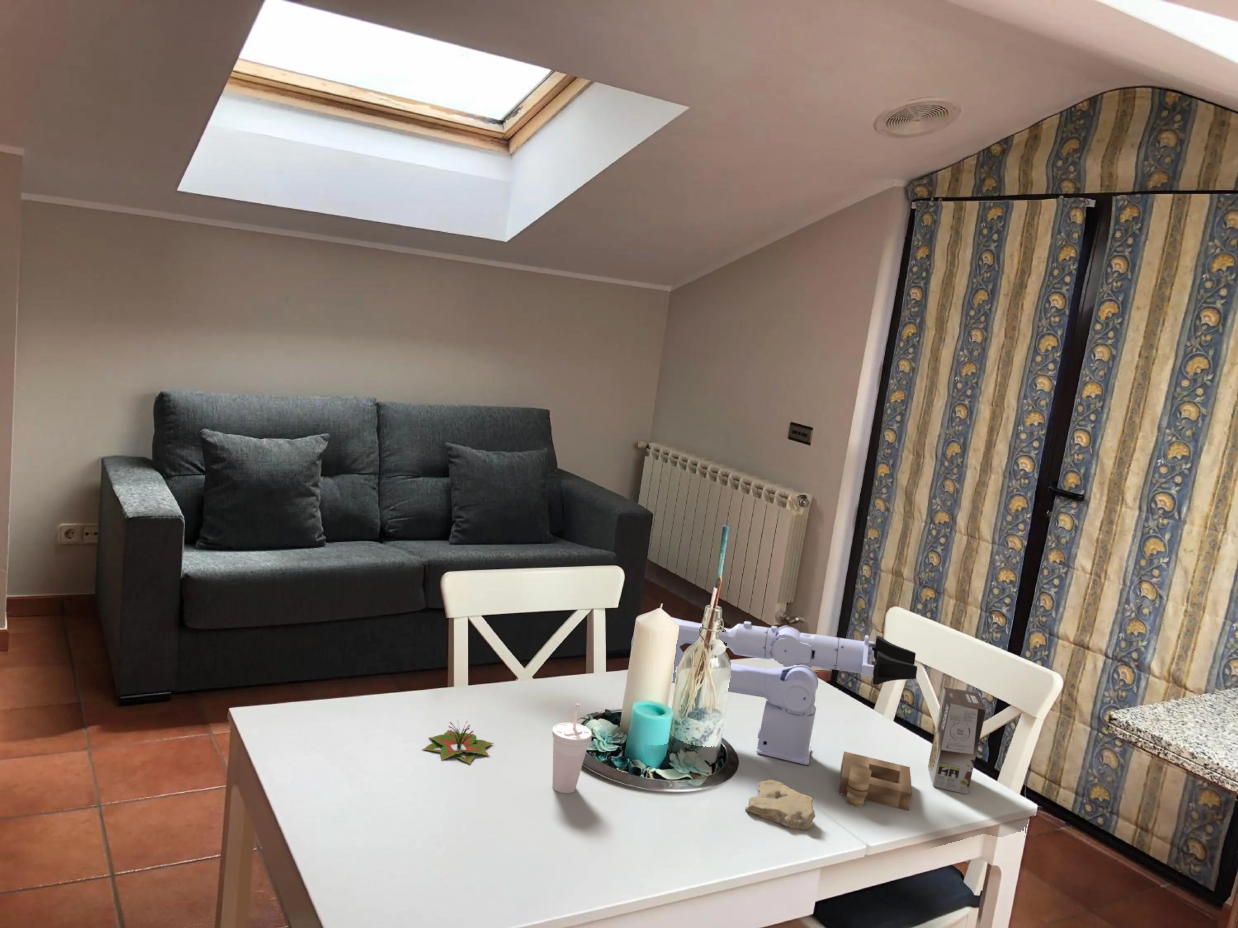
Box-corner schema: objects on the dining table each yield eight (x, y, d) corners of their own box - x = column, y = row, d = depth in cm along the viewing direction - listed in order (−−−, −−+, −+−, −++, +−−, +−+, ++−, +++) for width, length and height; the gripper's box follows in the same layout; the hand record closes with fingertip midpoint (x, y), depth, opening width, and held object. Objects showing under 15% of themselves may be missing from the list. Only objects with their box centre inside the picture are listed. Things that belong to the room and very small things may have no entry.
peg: (843, 804, 165) (850, 771, 164) (844, 794, 168) (850, 762, 167) (865, 809, 164) (871, 776, 163) (865, 800, 167) (871, 767, 166)
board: (839, 792, 168) (842, 776, 168) (840, 766, 179) (843, 751, 178) (908, 810, 166) (912, 793, 165) (906, 782, 176) (909, 766, 176)
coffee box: (969, 795, 175) (987, 710, 172) (932, 786, 176) (949, 702, 174) (962, 773, 184) (979, 692, 181) (926, 765, 185) (943, 684, 182)
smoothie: (590, 786, 158) (603, 704, 156) (572, 801, 152) (584, 717, 150) (556, 773, 161) (567, 693, 158) (536, 788, 155) (548, 705, 153)
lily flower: (473, 774, 157) (476, 747, 157) (408, 753, 161) (411, 727, 160) (505, 746, 169) (509, 721, 168) (444, 727, 172) (447, 703, 172)
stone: (725, 789, 162) (775, 772, 166) (726, 808, 163) (776, 792, 167) (771, 822, 150) (823, 804, 155) (772, 843, 151) (825, 825, 155)
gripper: (838, 644, 170) (920, 656, 166) (841, 621, 183) (916, 631, 180) (834, 683, 171) (915, 696, 167) (837, 657, 185) (912, 668, 181)
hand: (915, 665), depth 174 cm, fingers open, 7 cm apart
